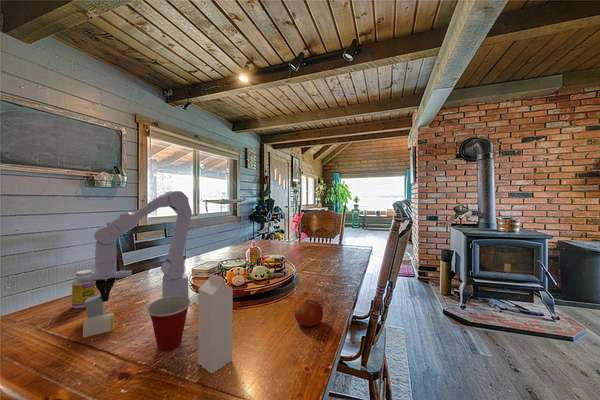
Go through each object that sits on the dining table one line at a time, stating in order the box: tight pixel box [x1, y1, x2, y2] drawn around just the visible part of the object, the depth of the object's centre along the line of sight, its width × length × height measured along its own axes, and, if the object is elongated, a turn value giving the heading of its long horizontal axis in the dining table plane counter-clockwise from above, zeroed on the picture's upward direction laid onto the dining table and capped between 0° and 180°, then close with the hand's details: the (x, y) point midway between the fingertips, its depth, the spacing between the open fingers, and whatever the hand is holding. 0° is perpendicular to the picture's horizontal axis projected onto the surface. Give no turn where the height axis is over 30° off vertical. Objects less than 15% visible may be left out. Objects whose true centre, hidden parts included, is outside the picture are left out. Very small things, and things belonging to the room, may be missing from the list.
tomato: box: [294, 298, 324, 327], centre depth 80 cm, size 9×9×8 cm
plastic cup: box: [146, 295, 192, 352], centre depth 68 cm, size 11×11×12 cm
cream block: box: [82, 312, 115, 338], centre depth 75 cm, size 4×4×7 cm
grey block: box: [85, 294, 107, 318], centre depth 82 cm, size 4×4×7 cm
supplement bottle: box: [71, 269, 96, 309], centre depth 92 cm, size 7×7×13 cm
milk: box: [197, 273, 234, 375], centre depth 61 cm, size 6×6×22 cm
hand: (105, 300), depth 83 cm, fingers closed
